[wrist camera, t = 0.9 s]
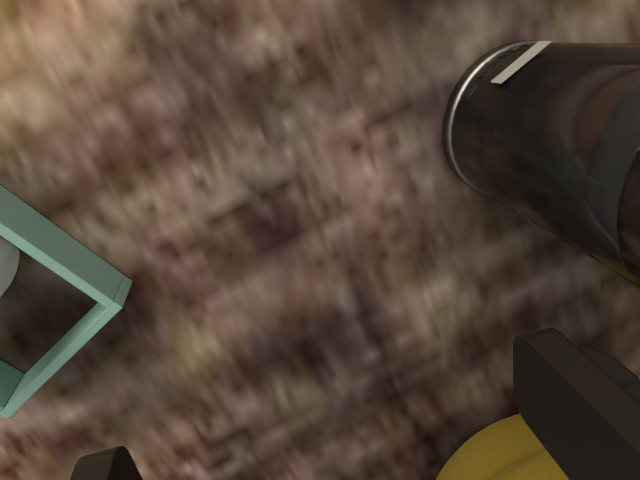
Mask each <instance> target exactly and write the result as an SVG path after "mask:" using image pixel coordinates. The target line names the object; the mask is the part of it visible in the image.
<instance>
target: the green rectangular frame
mask: <svg viewBox="0 0 640 480" xmlns="http://www.w3.org/2000/svg"><path fill="white" fill-rule="evenodd" d="M0 236H2V237H3V238H5V239H6V240H8V241H9V242H11V243H12V244H14V245H15V246H17V247H18V248H20V249H21V250H22V251H24V252H25V253H27V254H28V255H30V256H31V257H33V258H34V259H36V260H37V261H39V262H40V263H41V264H43V265H44V266H46V267H47V268H49V269H50V270H52V271H53V272H55V273H56V274H58V275H59V276H61V277H62V278H63V279H65V280H66V281H68V282H69V283H71V284H72V285H74V286H75V287H77V288H78V289H80V290H81V291H82V292H84V293H85V294H87V295H88V296H90V297H91V298H93V299H94V300H96V301H97V302H98V303H97V304H96V305H95V306H94V307H93V308H92V309H91V310H90V311H89V312H88V313H87V314H86V315H85V316H83V317H82V318H81V319H80V320H79V321H78V322H77V323H76V324H75V325H74V326H73V327H72V328H71V329H70V330H69V331H68V332H67V333H66V334H65V335H64V336H63V337H62V338H61V339H60V340H59V341H58V342H57V343H56V344H55V345H54V346H53V347H52V348H51V349H50V350H49V351H48V352H47V353H46V354H45V355H44V356H43V357H42V358H41V359H40V360H39V361H38V362H37V363H36V364H35V365H33V366H32V367H31V368H30V369H29V370H28V371H27V372H26V373H25V374H24V373H23V372H21V371H19V370H17V369H16V368H14V367H12V366H10V365H9V364H7V363H5V362H3V361H1V360H0V416H1V417H3V418H5V419H8V418H9V417H10V416H11V415H12V414H13V413H14V412H15V411H16V410H17V409H18V408H19V407H21V406H22V405H23V404H24V403H25V402H26V401H27V400H28V399H29V398H30V397H31V396H32V395H33V394H34V393H35V392H36V391H37V390H38V389H39V388H40V387H41V386H42V385H43V384H44V383H45V382H46V381H47V380H48V379H49V378H51V377H52V376H53V375H54V374H55V373H56V372H57V371H58V370H59V369H60V368H61V367H62V366H63V365H64V364H65V363H66V362H67V361H68V360H69V359H70V358H71V357H72V356H73V355H74V354H75V353H76V352H77V351H78V350H79V349H80V348H82V347H83V346H84V345H85V344H86V343H87V342H88V341H89V340H90V339H91V338H92V337H93V336H94V335H95V334H96V333H97V332H98V331H99V330H100V329H101V328H102V327H103V326H104V325H105V324H106V323H107V322H108V321H109V320H110V319H112V318H113V317H114V316H115V315H116V314H117V313H118V312H119V311H120V310H121V309H122V308H123V305H124V302H125V300H126V297H127V295H128V292H129V290H130V287H131V284H132V282H133V281H132V280H130V279H129V278H127V277H126V276H124V275H123V274H122V273H120V272H119V271H118V270H116V269H115V268H114V267H112V266H111V265H110V264H108V263H107V262H105V261H104V260H103V259H101V258H100V257H99V256H97V255H96V254H94V253H93V252H92V251H90V250H89V249H88V248H86V247H85V246H83V245H82V244H81V243H79V242H78V241H77V240H75V239H74V238H73V237H71V236H70V235H68V234H67V233H66V232H64V231H63V230H62V229H60V228H59V227H57V226H56V225H55V224H53V223H52V222H51V221H49V220H48V219H46V218H45V217H44V216H42V215H41V214H40V213H38V212H37V211H35V210H34V209H33V208H31V207H30V206H29V205H27V204H26V203H25V202H23V201H22V200H20V199H19V198H18V197H16V196H15V195H14V194H12V193H11V192H9V191H8V190H7V189H5V188H4V187H3V186H1V185H0Z"/></svg>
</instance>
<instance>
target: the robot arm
mask: <svg viewBox="0 0 640 480" xmlns="http://www.w3.org/2000/svg"><path fill="white" fill-rule="evenodd" d="M442 136H443V145H444V150H445V154H446V157H447V160H448V162H449V164H450V166H451V168H452V169H453V171H454V172H455V174H456V175H457V176H458V177H459V178H460V179H461V180H462V181H463V182H464V183H465V184H467V185H468V186H470V187H471V188H473V189H475V190H476V191H478V192H480V193H482V194H484V195H487V196H490V197H491V198H493V199H495V200H496V201H498V202H500V203H501V204H503V205H504V206H506V207H508V208H509V209H511V210H513V211H514V212H516V213H518V214H519V215H521V216H523V217H524V218H526V219H528V220H530V221H531V222H533V223H535V224H536V225H538V226H540V227H541V228H543V229H545V230H546V231H548V232H550V233H551V234H553V235H555V236H557V237H558V238H560V239H562V240H563V241H565V242H567V243H568V244H570V245H572V246H573V247H575V248H577V249H578V250H580V251H582V252H584V253H585V254H587V255H589V256H590V257H592V258H594V259H595V260H597V261H599V262H600V263H602V264H604V265H606V266H607V267H609V268H611V269H612V270H614V271H616V272H617V273H619V274H621V275H622V276H624V277H626V278H627V279H629V280H631V281H632V282H634V283H635V284H637V285H638V286H639V287H640V43H552V41H541V40H523V41H515V42H510V43H507V44H504V45H501V46H499V47H497V48H495V49H493V50H491V51H489V52H487V53H486V54H485V55H483V56H482V57H480V58H479V59H478V60H477V61H476V62H474V63H473V64H472V65H471V66H470V67H469V68H468V70H467V71H466V72H465V73H464V74H463V76H462V77H461V79H460V80H459V81H458V83H457V85H456V86H455V88H454V90H453V92H452V94H451V96H450V98H449V101H448V104H447V107H446V110H445V115H444V120H443V134H442ZM513 391H514V398H515V402H516V405H517V408H518V410H519V413H520V415H521V417H522V418H523V420H524V422H525V423H526V424H527V426H528V427H529V428H530V430H531V431H532V432H533V433H534V435H535V436H536V437H537V439H538V440H539V441H540V442H541V444H542V445H543V446H544V448H545V449H546V450H547V451H548V453H549V454H550V455H551V457H552V458H553V459H554V460H555V462H556V463H557V464H558V466H559V467H560V468H561V469H562V471H563V472H564V473H565V475H566V476H567V477H568V478H569V480H640V381H639V380H638V378H637V376H636V375H635V374H633V373H632V372H631V371H630V370H628V369H627V368H626V367H625V366H624V365H622V364H621V363H620V362H619V361H618V360H616V359H615V358H613V357H611V356H609V355H607V354H605V353H602V352H600V351H598V350H596V349H594V348H592V347H589V346H587V345H585V346H581V347H576V346H575V345H574V344H573V343H572V342H571V341H570V340H569V339H567V338H566V337H565V336H564V335H563V334H562V333H561V332H559V331H558V330H557V329H555V328H547V329H543V330H539V331H536V332H532V333H528V334H525V335H521V336H517V337H516V338H515V339H514V342H513ZM70 480H143V479H142V477H141V475H140V473H139V471H138V469H137V467H136V465H135V463H134V461H133V459H132V457H131V455H130V453H129V451H128V450H127V448H125V447H124V446H119V447H115V448H112V449H108V450H104V451H101V452H97V453H93V454H90V455H86V456H83V457H81V458H80V459H79V460H78V461H77V463H76V465H75V468H74V471H73V473H72V476H71V479H70Z"/></svg>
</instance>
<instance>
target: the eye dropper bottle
mask: <svg viewBox="0 0 640 480" xmlns="http://www.w3.org/2000/svg"><path fill="white" fill-rule="evenodd" d="M19 259H20V252H19V249H18V248H17V247H16V246H15V245H14V244H12V243H10V242H9V241H7V240H5V239H3V238H2V237H0V297H1V296H2V295H3V293H4V292H5V291H6V290H7V288H8V287H9V286H10V284H11V282H12V281H13V279H14V276H15V274H16V271H17V268H18V264H19Z"/></svg>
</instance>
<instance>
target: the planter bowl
mask: <svg viewBox="0 0 640 480" xmlns="http://www.w3.org/2000/svg"><path fill="white" fill-rule="evenodd" d="M436 480H569V478H568V477H567V476H566V475H565V473H564V472H563V471H562V469H561V468H560V467H559V466H558V464H557V463H556V462H555V460H554V459H553V458H552V457H551V455H550V454H549V453H548V451H547V450H546V449H545V448H544V446H543V445H542V444H541V442H540V441H539V440H538V439H537V437H536V436H535V435H534V433H533V432H532V431H531V430H530V428H529V427H528V426H527V424H526V423H525V422H524V420H523V418H522V417H521V415H520V414H517V415H513V416H511V417H508V418H505V419H502V420H500V421H497V422H495V423H493V424H491V425H489V426H488V427H486V428H484V429H483V430H481V431H479V432H477V433H476V434H475V435H473V436H472V437H471V438H470V439H468V440H467V441H466V442H465V443H464V444H463V445H462V446H461V447H460V448H459V449H458V450H457V451H456V452H455V453H454V454H453V455H452V456H451V457H450V459H449V460H448V461H447V463H446V464H445V465H444V467H443V468H442V469H441V471H440V473H439V474H438V476H437V478H436Z"/></svg>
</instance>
